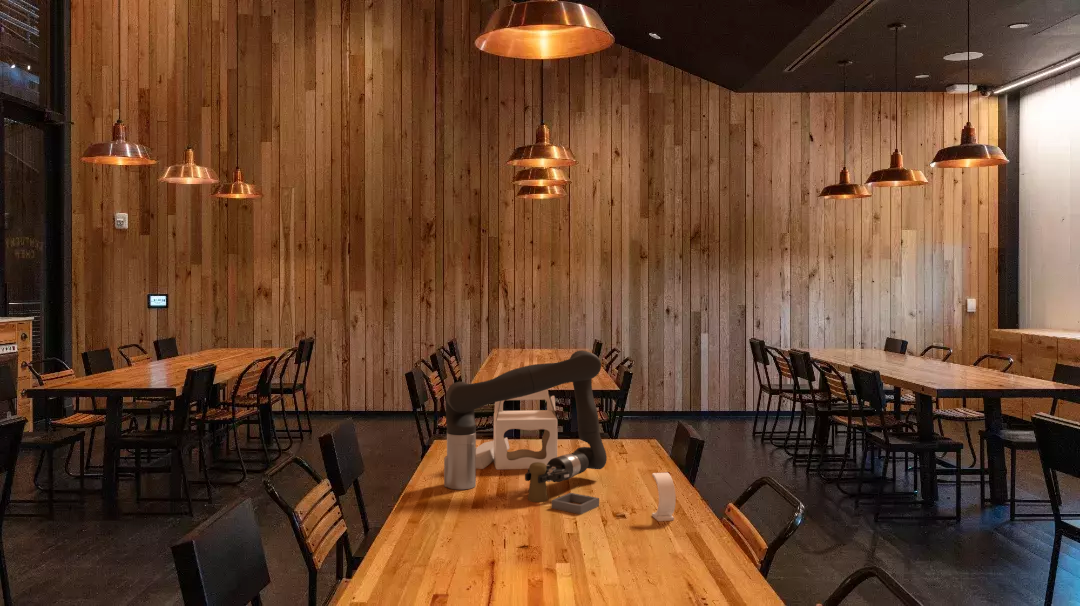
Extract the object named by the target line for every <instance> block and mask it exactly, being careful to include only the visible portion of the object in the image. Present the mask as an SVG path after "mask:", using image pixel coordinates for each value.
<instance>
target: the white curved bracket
mask: <svg viewBox="0 0 1080 606" xmlns="http://www.w3.org/2000/svg"><path fill="white" fill-rule="evenodd" d="M651 475H652V476H651V477H652V478H653V479H654V481H655V484H656V485H657V492H658V506H657V510H656V512H651V516H652V517H653V518H654V519H655V520H656V521H657V522H667V521H675V517H674V516H673V514H674V513H675V509H676V501H677V499H676V497H677V496H676V495H677V494H676V488H675V484H674V480H673V478H672V476H671V474H670V473H669V472H653V473H651Z"/></svg>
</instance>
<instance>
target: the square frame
mask: <svg viewBox="0 0 1080 606" xmlns="http://www.w3.org/2000/svg"><path fill="white" fill-rule="evenodd" d="M599 506H600V498H599V497H596V496H595V497H594V496H590V495H584V494H579V493H574V492H568V493H566V494H564V495H561V496H559V497H557V498H554V499H552V500H551V509H554V510H559V511H563V512H568V513H573V514H578V515H583V514H585V513H587V512H589V511H591V510H593V509H596V508H598V507H599Z"/></svg>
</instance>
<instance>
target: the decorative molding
mask: <svg viewBox="0 0 1080 606" xmlns="http://www.w3.org/2000/svg"><path fill="white" fill-rule="evenodd" d="M504 440H505V443H506V446H507V451H508V450H510V444H509V439H508V437H504ZM492 462H493V463H494V440H490V441H485V442H483V443H481V444H479V445H478V446H476V470H477V469H480V470H484V469H485V468H487V466H490V464H492Z"/></svg>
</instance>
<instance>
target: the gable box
mask: <svg viewBox="0 0 1080 606" xmlns="http://www.w3.org/2000/svg"><path fill="white" fill-rule="evenodd" d="M555 399H556V397H555V395H550V394H549V389H546V390H543V391H540V392H537V393H533V394H530V395H526V396H522V397H517V398H513V399H508V400H503V401H498V402H494V408H493V409H494V410H493V411H494V413H493V441H494V461H493V463H494V467H495V469H496V470H499V471H500V470H525V469H527V470H528V469H529V467H530V465H531V464H532V463H535V462H541V463H544V464H545V465H547V464H548V462H549V461H550V460H551V459H553V458H556V457H558V415H557V414H556V410H557V409H556V400H555ZM536 400H537V401H539V400H541V401H545V402H546V409H545V410H544V409H542V410H541V409H539V410H538V409H537V410H536V409H535V410H534V409H533V410H530V409H529V410H504V402H505V401H536ZM515 429H516V430H524V431H537V430H544V431H543V435H542V437H541V449H540V450H539V451H535V450H531V449H525V448H522V449H516V450H513V451H508V450H507V446H506V443H505V440H504V438H505V433H506V432H507V431H509V430H515Z"/></svg>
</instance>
